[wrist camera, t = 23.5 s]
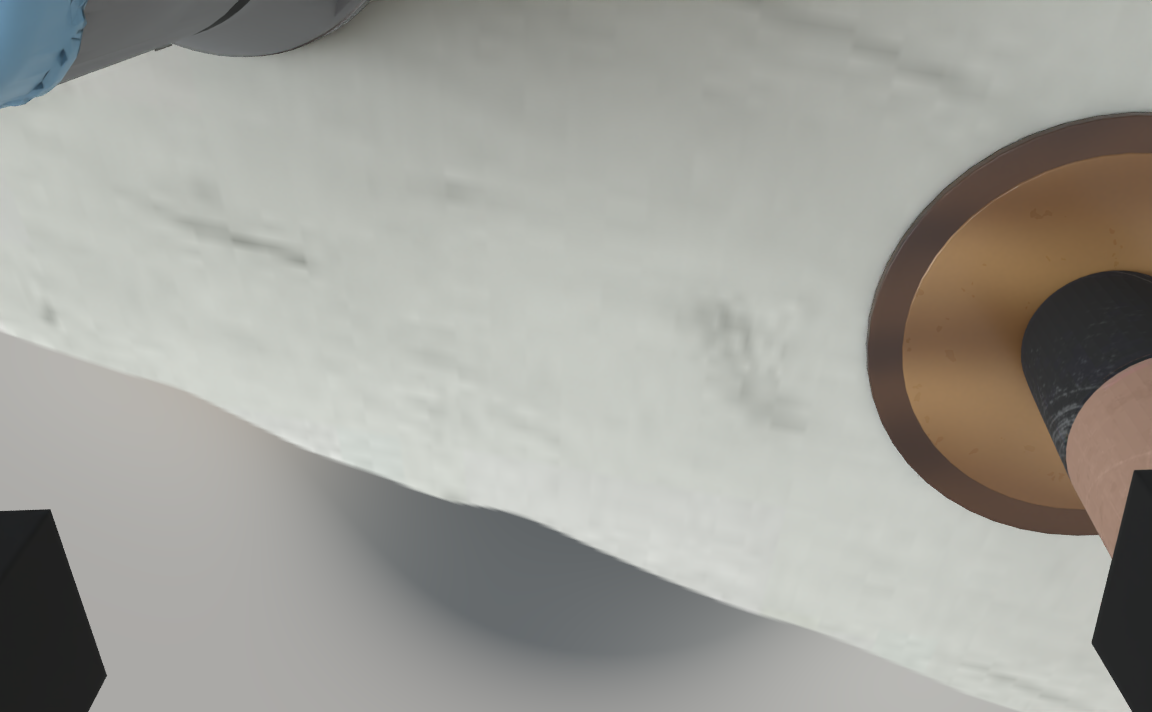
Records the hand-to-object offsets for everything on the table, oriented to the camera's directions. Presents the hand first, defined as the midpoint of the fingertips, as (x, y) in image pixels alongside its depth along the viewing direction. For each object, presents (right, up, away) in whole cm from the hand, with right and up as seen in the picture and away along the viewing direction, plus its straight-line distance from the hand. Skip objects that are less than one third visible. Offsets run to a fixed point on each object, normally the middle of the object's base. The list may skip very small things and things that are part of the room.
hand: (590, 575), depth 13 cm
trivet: (+23, +4, +34) cm, 41 cm away
